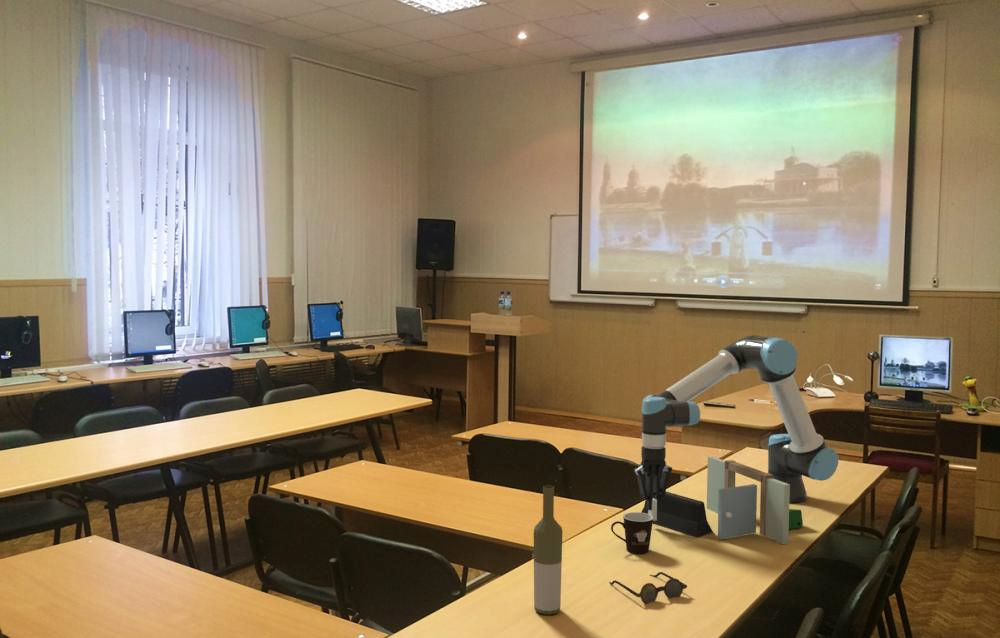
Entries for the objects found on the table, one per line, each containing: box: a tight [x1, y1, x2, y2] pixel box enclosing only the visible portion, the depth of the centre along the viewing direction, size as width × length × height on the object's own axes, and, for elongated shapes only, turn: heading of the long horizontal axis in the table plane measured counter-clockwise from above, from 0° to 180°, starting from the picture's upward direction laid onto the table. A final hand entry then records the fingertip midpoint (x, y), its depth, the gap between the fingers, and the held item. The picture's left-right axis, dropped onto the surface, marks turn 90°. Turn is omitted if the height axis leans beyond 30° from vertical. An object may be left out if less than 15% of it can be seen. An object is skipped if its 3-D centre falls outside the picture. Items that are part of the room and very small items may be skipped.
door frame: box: [706, 456, 790, 545], centre depth 245 cm, size 3×38×19 cm, turn 20°
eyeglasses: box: [608, 571, 688, 605], centre depth 194 cm, size 15×15×5 cm
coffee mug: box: [610, 511, 653, 555], centre depth 221 cm, size 12×9×10 cm
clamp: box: [789, 508, 804, 530], centre depth 243 cm, size 12×6×9 cm, turn 97°
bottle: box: [533, 484, 563, 615], centre depth 180 cm, size 7×7×30 cm
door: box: [717, 484, 758, 540], centre depth 232 cm, size 14×3×15 cm, turn 115°
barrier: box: [640, 491, 714, 539], centre depth 244 cm, size 24×9×10 cm, turn 39°
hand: (652, 519), depth 241 cm, fingers closed
